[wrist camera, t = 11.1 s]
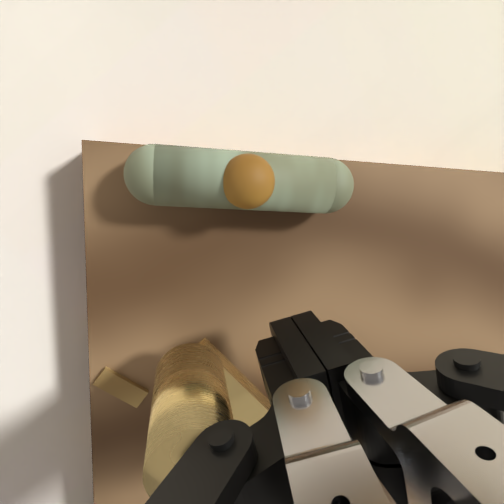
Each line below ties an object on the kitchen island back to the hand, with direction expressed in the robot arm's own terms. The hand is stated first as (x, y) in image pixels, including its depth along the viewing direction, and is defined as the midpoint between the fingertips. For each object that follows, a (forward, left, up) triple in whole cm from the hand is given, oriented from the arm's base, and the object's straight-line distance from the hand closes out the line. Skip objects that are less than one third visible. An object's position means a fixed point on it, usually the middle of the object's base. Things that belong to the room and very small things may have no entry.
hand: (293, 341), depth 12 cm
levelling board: (-5, -6, -5) cm, 9 cm away
